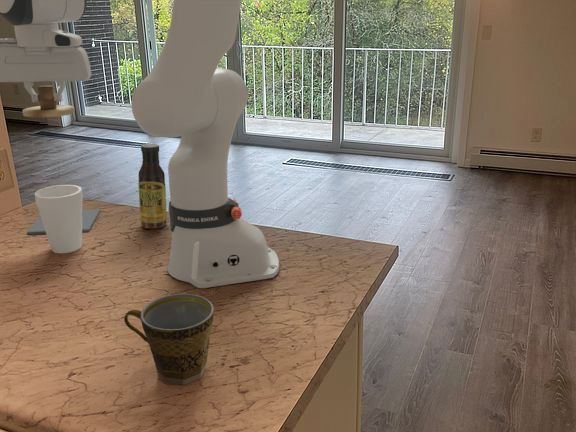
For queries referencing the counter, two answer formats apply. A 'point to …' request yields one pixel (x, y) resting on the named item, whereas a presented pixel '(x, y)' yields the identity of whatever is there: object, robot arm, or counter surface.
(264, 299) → the counter surface
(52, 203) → the foam cup
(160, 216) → the sauce bottle
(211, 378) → the counter surface
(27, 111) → the lid
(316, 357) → the counter surface
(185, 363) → the ceramic cup
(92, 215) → the mat
